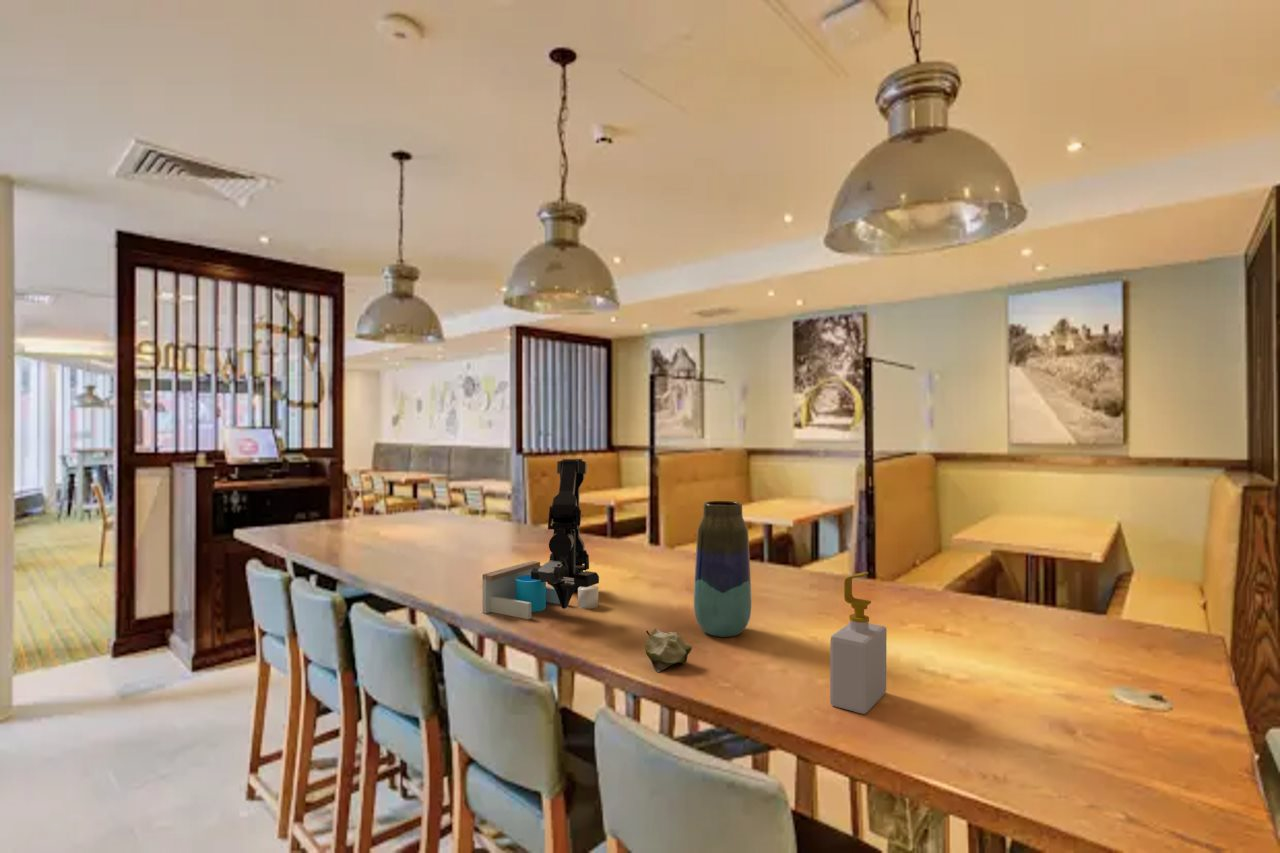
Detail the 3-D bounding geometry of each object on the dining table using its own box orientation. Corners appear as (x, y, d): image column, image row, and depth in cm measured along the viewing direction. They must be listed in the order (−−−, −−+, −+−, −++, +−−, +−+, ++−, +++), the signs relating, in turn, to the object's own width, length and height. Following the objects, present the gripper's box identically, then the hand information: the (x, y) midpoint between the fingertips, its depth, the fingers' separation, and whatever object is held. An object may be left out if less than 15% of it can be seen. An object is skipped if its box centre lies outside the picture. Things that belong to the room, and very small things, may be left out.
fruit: (637, 668, 139) (637, 628, 141) (676, 664, 143) (675, 626, 145) (657, 674, 131) (657, 632, 133) (697, 670, 135) (697, 630, 137)
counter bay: (531, 595, 192) (531, 560, 192) (570, 602, 185) (570, 566, 184) (482, 612, 174) (482, 574, 174) (523, 621, 167) (523, 581, 167)
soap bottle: (865, 716, 113) (866, 581, 113) (828, 706, 117) (829, 575, 117) (887, 693, 123) (888, 568, 123) (852, 684, 127) (853, 564, 127)
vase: (682, 632, 159) (682, 503, 158) (716, 619, 169) (716, 498, 168) (729, 645, 149) (729, 508, 149) (762, 631, 159) (762, 502, 159)
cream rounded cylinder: (585, 602, 185) (585, 584, 185) (602, 604, 182) (602, 586, 182) (574, 606, 180) (573, 588, 180) (590, 609, 178) (590, 591, 178)
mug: (549, 610, 177) (549, 580, 177) (520, 613, 174) (520, 583, 174) (536, 599, 188) (536, 570, 188) (508, 602, 185) (508, 573, 185)
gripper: (516, 550, 171) (516, 610, 171) (574, 558, 161) (574, 621, 161) (544, 544, 180) (544, 600, 180) (600, 550, 171) (600, 610, 171)
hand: (564, 608), depth 173 cm, fingers closed
